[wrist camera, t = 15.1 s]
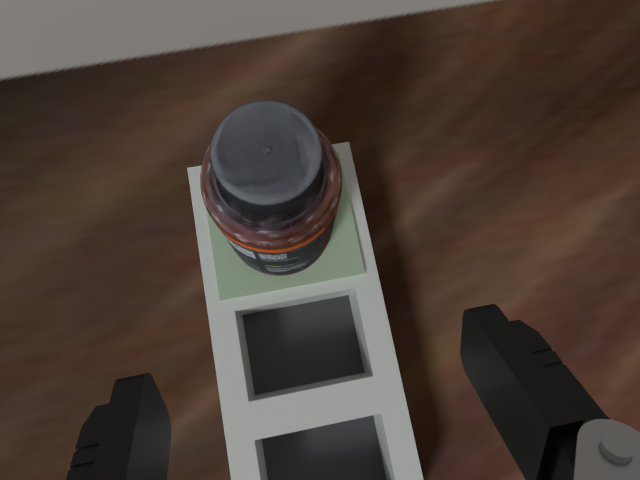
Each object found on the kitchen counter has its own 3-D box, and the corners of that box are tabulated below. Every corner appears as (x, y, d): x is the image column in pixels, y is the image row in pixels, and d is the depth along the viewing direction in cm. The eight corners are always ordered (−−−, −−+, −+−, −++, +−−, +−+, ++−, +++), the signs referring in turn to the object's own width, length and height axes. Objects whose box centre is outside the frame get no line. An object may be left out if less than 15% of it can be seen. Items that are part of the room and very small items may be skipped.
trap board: (251, 539, 28) (243, 573, 24) (200, 189, 32) (186, 166, 28) (415, 501, 29) (435, 528, 24) (343, 165, 33) (349, 139, 29)
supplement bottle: (298, 162, 29) (300, 46, 17) (349, 245, 28) (385, 179, 16) (210, 209, 28) (152, 118, 17) (259, 297, 27) (233, 263, 16)
